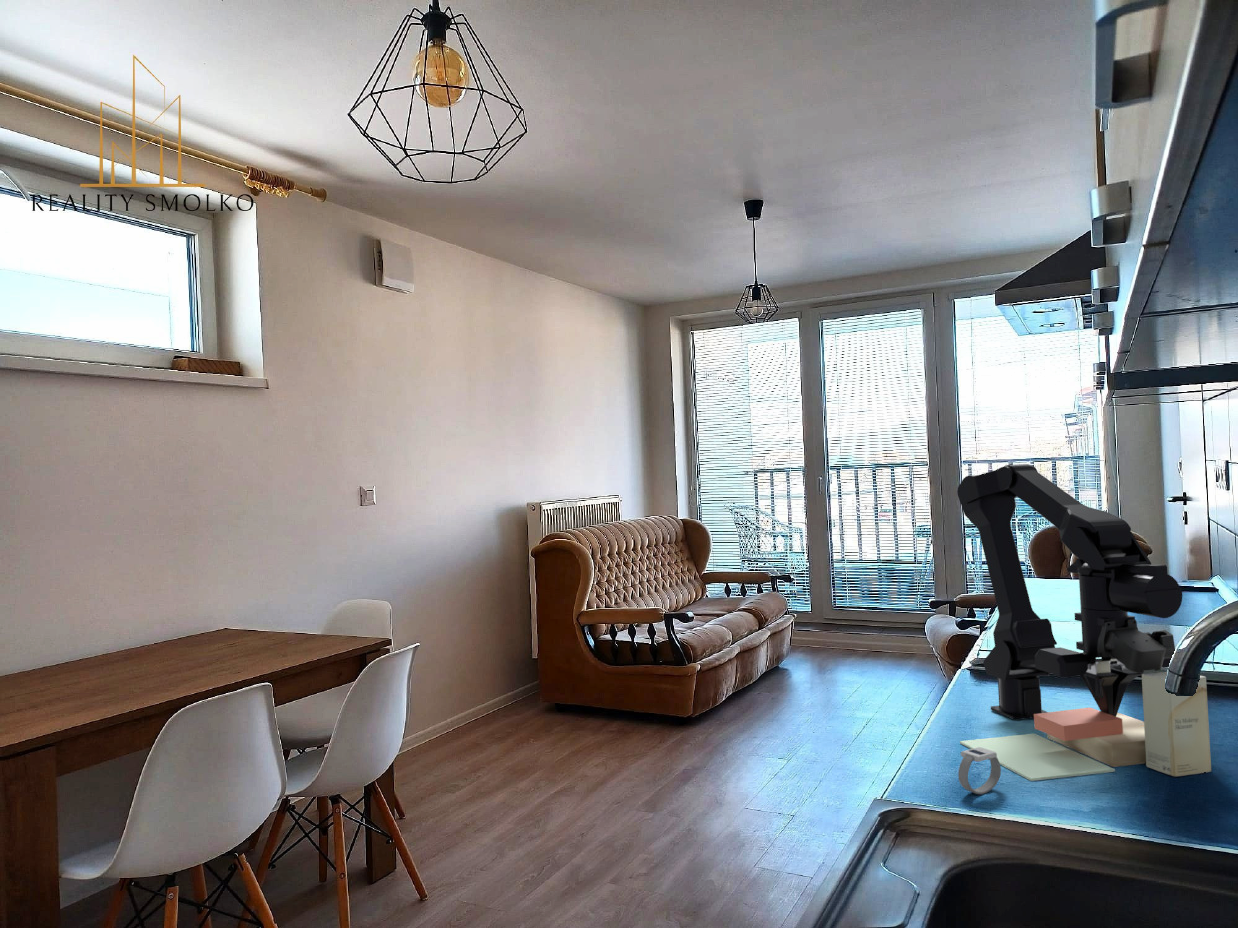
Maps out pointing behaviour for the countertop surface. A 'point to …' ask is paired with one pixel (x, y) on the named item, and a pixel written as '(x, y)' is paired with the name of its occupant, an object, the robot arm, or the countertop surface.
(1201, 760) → the skincare box
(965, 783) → the wristwatch
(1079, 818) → the countertop surface
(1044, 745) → the mat
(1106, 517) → the robot arm
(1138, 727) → the board
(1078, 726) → the salmon pink brick
